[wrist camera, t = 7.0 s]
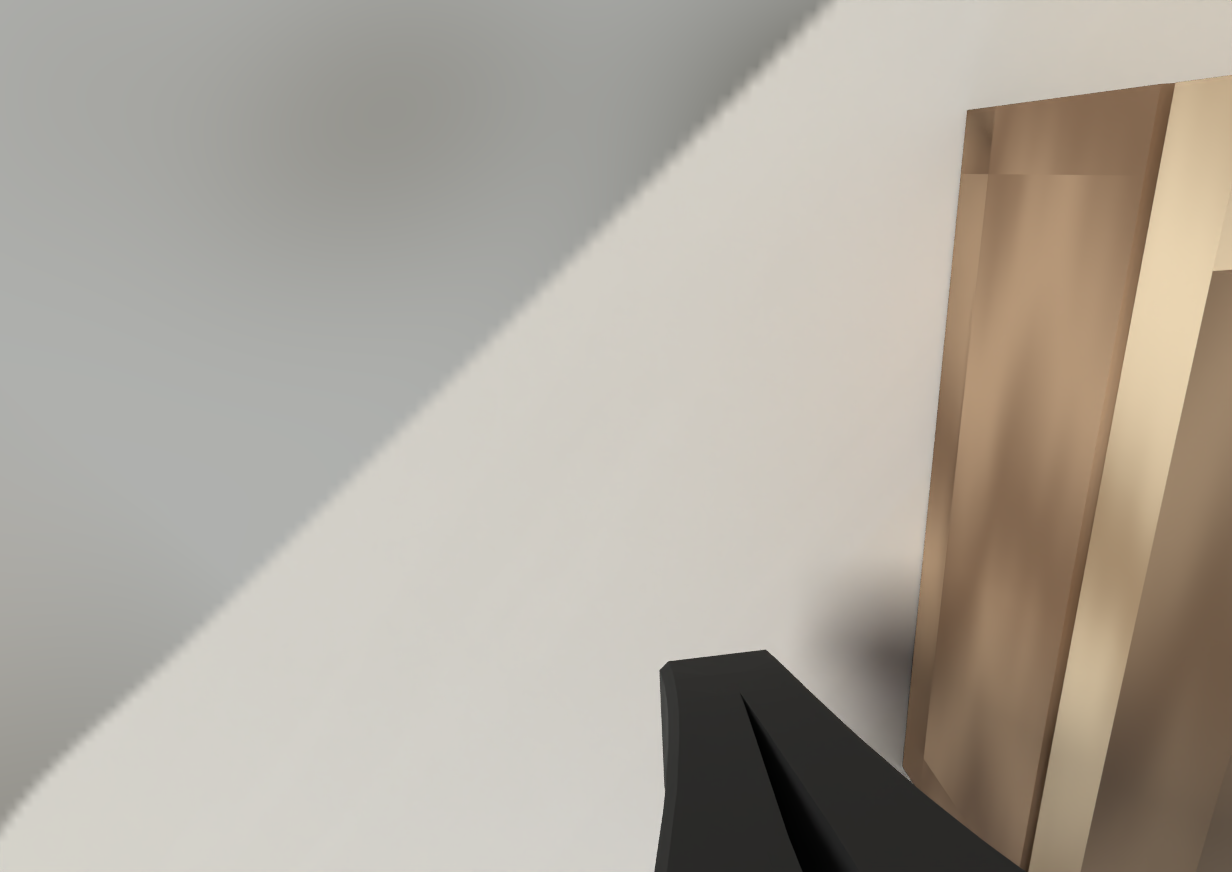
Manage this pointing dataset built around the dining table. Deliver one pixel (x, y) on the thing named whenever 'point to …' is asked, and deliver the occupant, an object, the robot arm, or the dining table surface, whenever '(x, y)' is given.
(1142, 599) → the lid
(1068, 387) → the walnut box
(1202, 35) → the dining table surface
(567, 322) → the dining table surface
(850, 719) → the dining table surface
